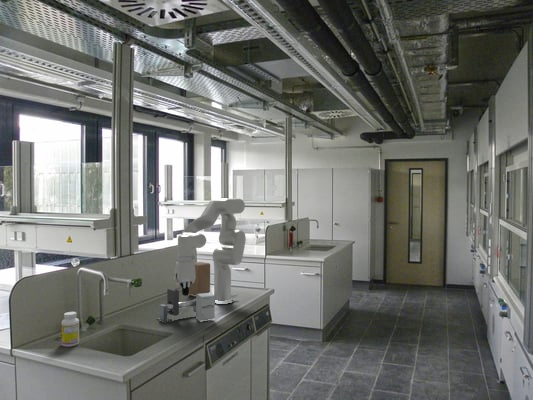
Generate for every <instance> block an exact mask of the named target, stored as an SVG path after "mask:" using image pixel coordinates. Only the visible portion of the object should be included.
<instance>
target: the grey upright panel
mask: <svg viewBox="0 0 533 400" xmlns="http://www.w3.org/2000/svg"><path fill="white" fill-rule="evenodd" d="M166 294H167V296H166V297H167V298H166V301H167V304H166V305H168V304H173V310H169V311H167V314H168V315H173V316H178V315H179V314H180V309H179V302H180V290H179V289H176V288H173V287H169V288H167V293H166Z"/></svg>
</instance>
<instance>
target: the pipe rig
mask: <svg viewBox="0 0 533 400" xmlns="http://www.w3.org/2000/svg"><path fill="white" fill-rule="evenodd" d="M191 307H192V308H193V309H192V310H193V311H194V312H196V298H193V299H192V300H187V301H181V302H180V301H179V310H180V309H185V308H191ZM169 310H173V304H168V305H167V304H159V317H157V318H156V320H157V319H159V320H161V321H163V322H167V323H169V322H168V321H172V319H169V317H167V316H168V313H167V311H169ZM159 320H158V321H159ZM161 321H160V322H161ZM163 322H162V323H163ZM172 322H173V321H172Z"/></svg>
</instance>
